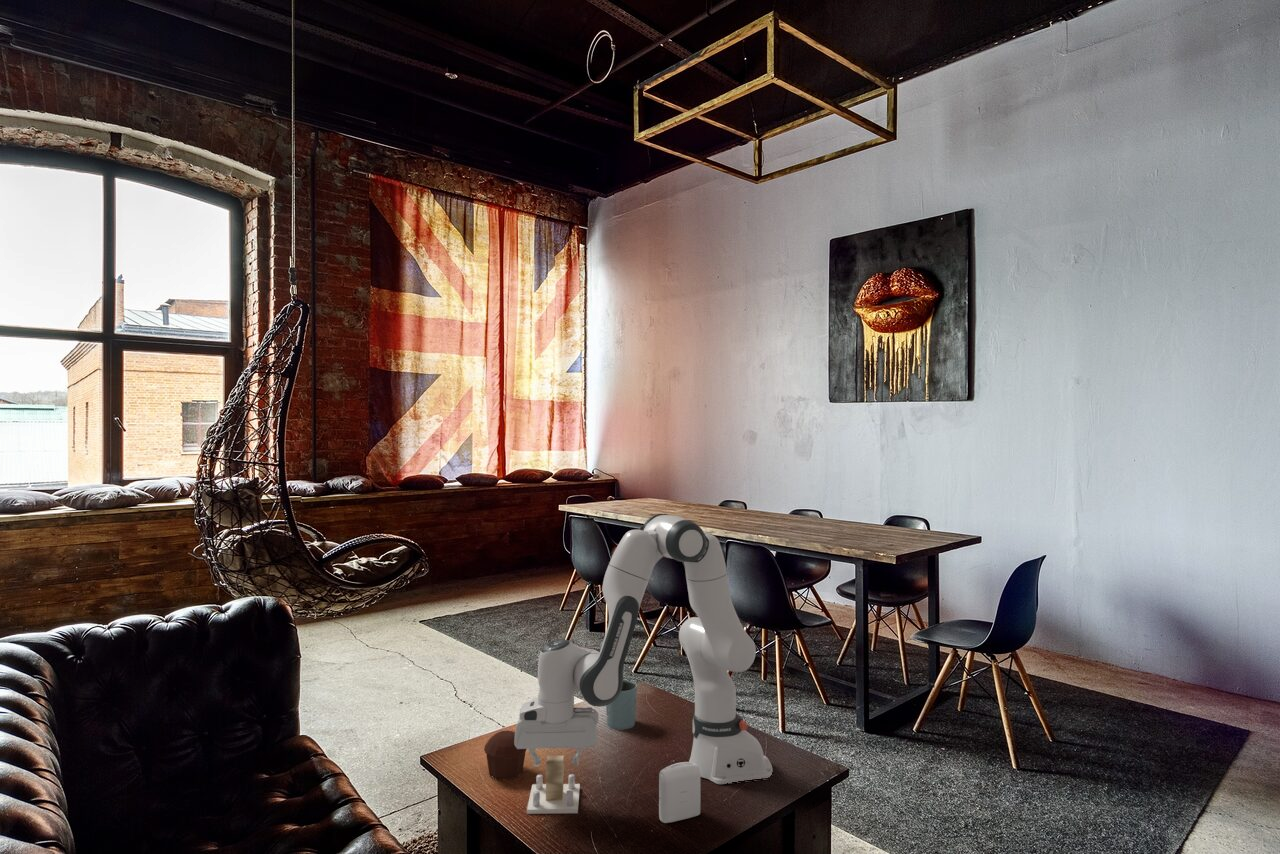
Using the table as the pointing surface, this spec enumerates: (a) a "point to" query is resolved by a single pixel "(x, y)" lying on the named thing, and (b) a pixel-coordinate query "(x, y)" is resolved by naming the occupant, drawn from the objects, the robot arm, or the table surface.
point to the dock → (542, 806)
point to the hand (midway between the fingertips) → (556, 764)
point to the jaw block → (554, 778)
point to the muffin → (504, 756)
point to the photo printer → (679, 792)
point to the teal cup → (623, 708)
